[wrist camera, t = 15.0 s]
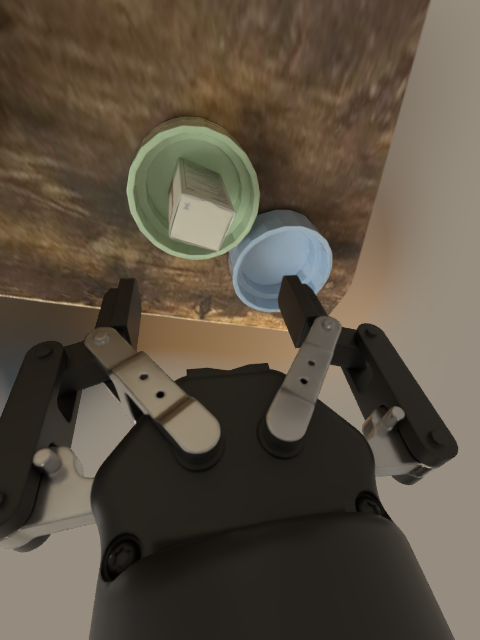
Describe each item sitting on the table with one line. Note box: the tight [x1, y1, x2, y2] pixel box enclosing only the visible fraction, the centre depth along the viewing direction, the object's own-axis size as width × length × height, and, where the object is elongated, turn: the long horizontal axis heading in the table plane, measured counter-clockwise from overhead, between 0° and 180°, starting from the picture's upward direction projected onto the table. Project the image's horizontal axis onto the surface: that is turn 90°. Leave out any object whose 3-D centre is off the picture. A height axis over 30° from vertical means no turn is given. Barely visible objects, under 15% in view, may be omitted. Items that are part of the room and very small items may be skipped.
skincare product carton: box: [169, 158, 236, 251], centre depth 28 cm, size 5×4×10 cm
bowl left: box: [127, 116, 260, 259], centre depth 31 cm, size 13×13×5 cm
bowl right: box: [228, 210, 332, 312], centre depth 39 cm, size 13×13×5 cm
